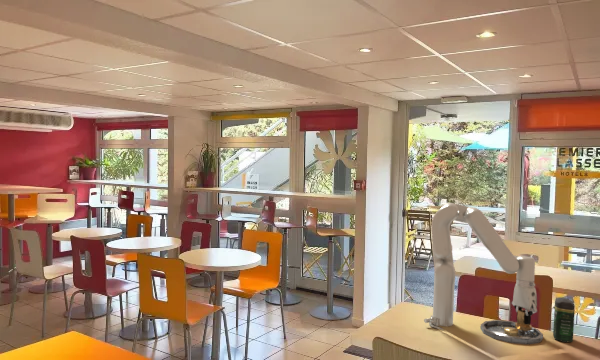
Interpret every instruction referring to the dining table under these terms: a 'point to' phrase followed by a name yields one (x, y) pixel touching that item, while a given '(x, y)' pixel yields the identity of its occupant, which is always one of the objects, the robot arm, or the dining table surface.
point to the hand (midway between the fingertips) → (523, 321)
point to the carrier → (510, 332)
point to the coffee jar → (564, 320)
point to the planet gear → (522, 321)
